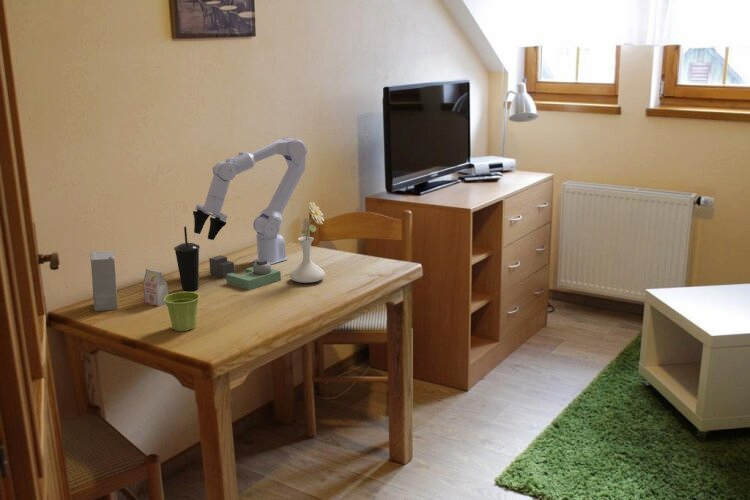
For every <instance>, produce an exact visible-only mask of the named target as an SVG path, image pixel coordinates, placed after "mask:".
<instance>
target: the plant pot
mask: <svg viewBox="0 0 750 500" xmlns="http://www.w3.org/2000/svg"><path fill="white" fill-rule="evenodd" d="M200 297H201V296H200V294H199V293H197V292H195V291H192V292H185V291H178V292H173V293H168V295H167V296H165V297H164V301H165V302H166V305H165V306H167V310H168V314H169V318H170V323H171V327H172V330H175V331H176V332H187V331H189V330H193V329H195V328H196V326H197V313H198V312H197V311H198V303H199V299H200Z"/></svg>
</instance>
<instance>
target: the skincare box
mask: <svg viewBox="0 0 750 500" xmlns="http://www.w3.org/2000/svg"><path fill="white" fill-rule="evenodd" d="M90 267H91V283H92V297H93V309H94V312H103V311H112V310H117V309H118V293H117V292H118V291H117V273H116V263H115V254H114V250H111V251H110V250H108V251H107V250H104V251H93V252H90Z"/></svg>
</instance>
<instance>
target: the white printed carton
mask: <svg viewBox="0 0 750 500" xmlns="http://www.w3.org/2000/svg"><path fill="white" fill-rule="evenodd" d="M168 287H169V286H168V283H167V282H166V280H165V278H164V276H163V274H162V272H160V271H157V270H154V269H148V268H145V274H144V277H143V281H142V289H143V297H144V298H143V300H144V304H147V305H152V306H154V307H158V308H160V307H163V306H167V305H166V302H165V301H164V297H165V296H167V295H169V288H168Z"/></svg>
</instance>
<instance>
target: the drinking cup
mask: <svg viewBox="0 0 750 500" xmlns="http://www.w3.org/2000/svg"><path fill="white" fill-rule="evenodd" d="M183 232H184V242H182V243H180V244H178V245H176V246H174V247H173V250H174V251H175V257H176V262H177V268H178V273H179V278H180V283H181V284H180V285H181V289H182V292H195V291H198V290H199V277H198V275H199V276H200V272H199V267H200V266H199V265H200V264H199V263H200V262H199V260H200V259H199V255H200V253H199V252H200V249H201V246H200V245H199V244H196V243H194V242H188V233H187V232H188V231H187V226H184V227H183Z"/></svg>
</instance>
